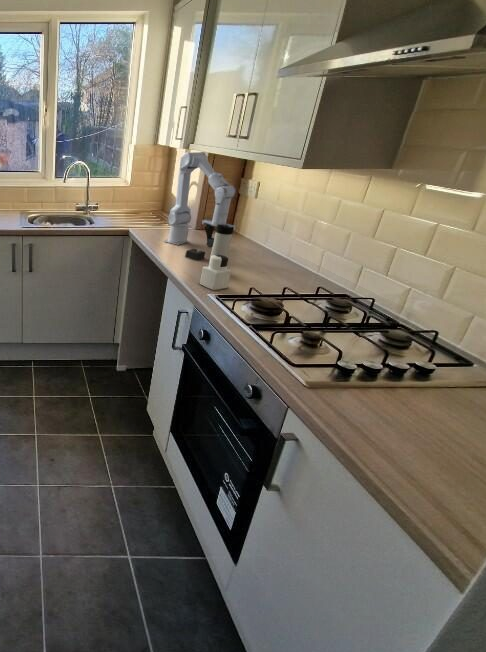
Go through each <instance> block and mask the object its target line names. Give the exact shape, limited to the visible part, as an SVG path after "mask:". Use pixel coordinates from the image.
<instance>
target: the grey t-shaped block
mask: <svg viewBox="0 0 486 652" xmlns="http://www.w3.org/2000/svg"><path fill="white" fill-rule="evenodd" d="M214 238H215V237H212V238H210V239H208V240H207V239H206V246H207V248H209V249H212V247H213V243H214Z"/></svg>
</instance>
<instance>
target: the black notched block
mask: <svg viewBox="0 0 486 652" xmlns="http://www.w3.org/2000/svg"><path fill="white" fill-rule="evenodd" d="M205 254H206V251H203V250H199V251H198V249H196V248H191V249H187V250H186V251H185V258H188V259H192V260H195V261H199V260H203V259H204V258H205V256H206V255H205Z"/></svg>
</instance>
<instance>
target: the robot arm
mask: <svg viewBox="0 0 486 652" xmlns="http://www.w3.org/2000/svg"><path fill="white" fill-rule="evenodd" d="M208 158H209V157H208V155H207V154H206V153H205V152H203V151H198V152H197V151H196V152H194V151H193V152H190V151H189V152H188V151H187V152H184V153H183V154H182V155H181V156H180V162H179V168H178V176H177V177H178V178H177V188H176V196H175V197H176V200H175V205H174V206H173V207H172V208H170V210H169V214H168V217H167V218H168V224H169V225H170V227H169V229H170V230H169V234H168V239H166V240H164V242H166V243H169V244H173V245H176V246H180V245H182V244H186V243H189V240H188V238H189V237H188V236H189V231H190V229H189V228H190V227H189V226H188V224H190V222H191V220H192V215H191V212H192V211H191V208H190V207H189V206H188V204H189V195H190V194H189V193H190V184H191V174H192V172H194V171H195V170H197V169H198V168H199V169H200V170H201V171H202V173H203V174H204V175H205V176H206V177H207V178H208V180H207V183H208V184H209V185H210V187H211V188H212V189H213V190H214V197H215V200H214V202H215V206H214V210H213V214H212V219H211V220H209V219H202V221H201V225H203V226H204V225H205V226H204V228H203V229H204V230H205V235H206V241H207V240H208V239H210V238H213V233H214V230H215V229H216V228H217V225H218V224H221V225H228V226H230V227H234V230H233V232H234V231H236V225H233V224H230V223H227V219H228V216H229V210H230V206H231V201H232V199H233V198H234V197H235V196H236V193H237V189H236V187H235V185H234V184H230V183H229V182H228V181H227V180H226V179H225V178H224V176H223V174H222V173H220V172H216V171H215V170H214V168H213V166H212V165H211V163H210V162H209V160H208Z"/></svg>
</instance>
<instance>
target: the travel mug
mask: <svg viewBox="0 0 486 652" xmlns="http://www.w3.org/2000/svg"><path fill="white" fill-rule="evenodd" d="M233 230H234V227H230V226H228V225H221V224H218V225H217V227H216V228H215V232H214V233H215V234H214V237H213V238H214V243H213V247H211V253H210V257H209V259H210V258H211V256H212V255H223V256H226V257H227V258H228V256H229V252H230V248H231V243H232V239H233V235H234V231H235V230H234V231H233Z"/></svg>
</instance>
